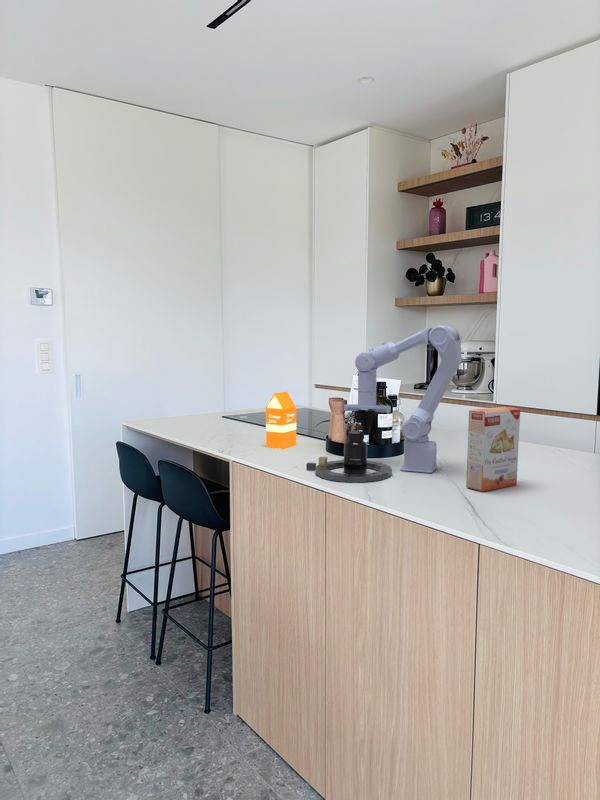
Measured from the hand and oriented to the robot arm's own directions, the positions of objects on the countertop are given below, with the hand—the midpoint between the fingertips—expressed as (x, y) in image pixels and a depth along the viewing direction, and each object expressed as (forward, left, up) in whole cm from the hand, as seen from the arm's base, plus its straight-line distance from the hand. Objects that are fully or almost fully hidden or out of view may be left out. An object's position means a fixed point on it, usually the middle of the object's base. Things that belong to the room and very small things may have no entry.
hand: (366, 434), depth 183 cm
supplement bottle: (0, +12, -10) cm, 16 cm away
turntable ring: (0, +14, -9) cm, 17 cm away
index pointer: (+13, +14, -9) cm, 21 cm away
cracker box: (-39, +15, -10) cm, 43 cm away
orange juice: (+38, -18, -10) cm, 43 cm away
